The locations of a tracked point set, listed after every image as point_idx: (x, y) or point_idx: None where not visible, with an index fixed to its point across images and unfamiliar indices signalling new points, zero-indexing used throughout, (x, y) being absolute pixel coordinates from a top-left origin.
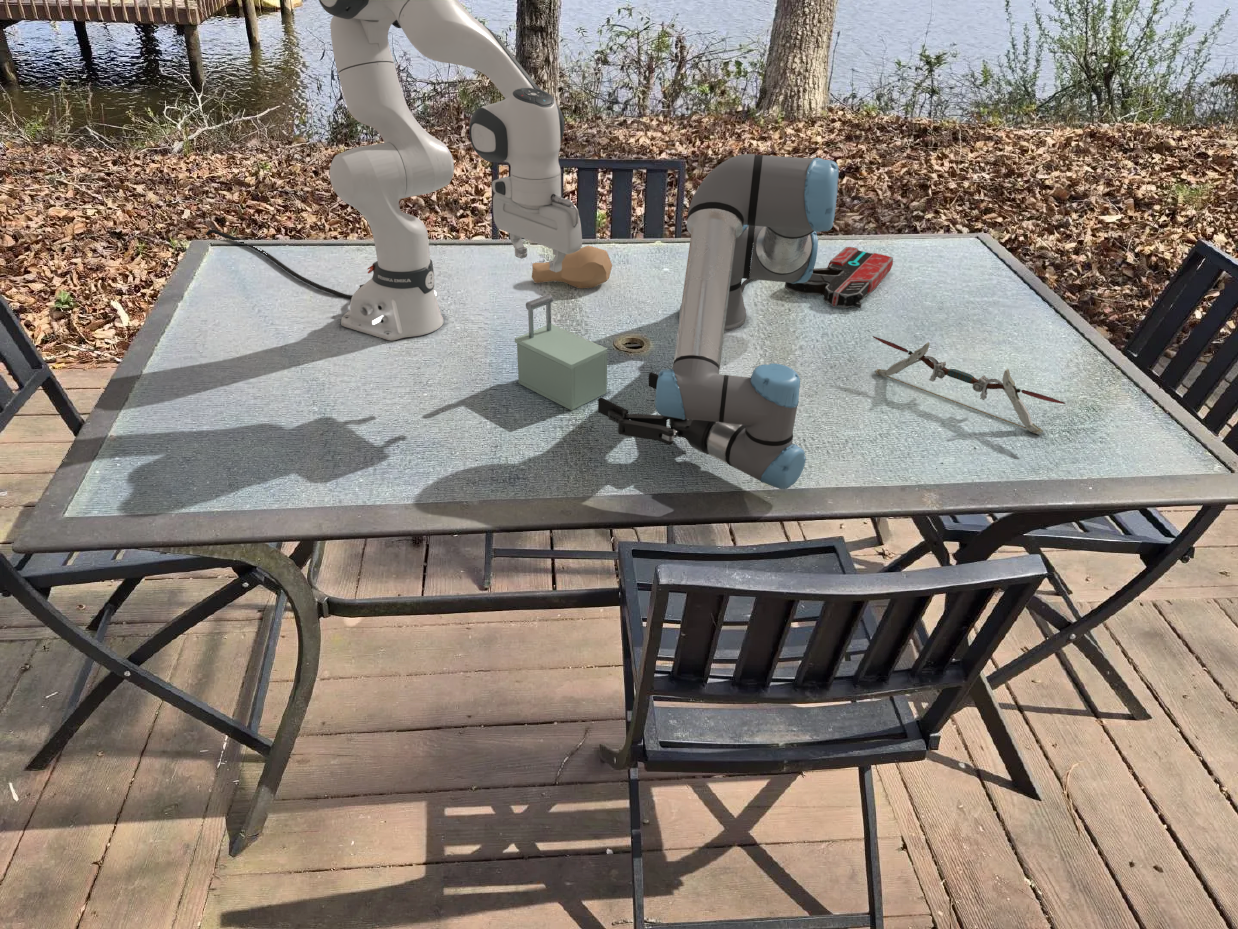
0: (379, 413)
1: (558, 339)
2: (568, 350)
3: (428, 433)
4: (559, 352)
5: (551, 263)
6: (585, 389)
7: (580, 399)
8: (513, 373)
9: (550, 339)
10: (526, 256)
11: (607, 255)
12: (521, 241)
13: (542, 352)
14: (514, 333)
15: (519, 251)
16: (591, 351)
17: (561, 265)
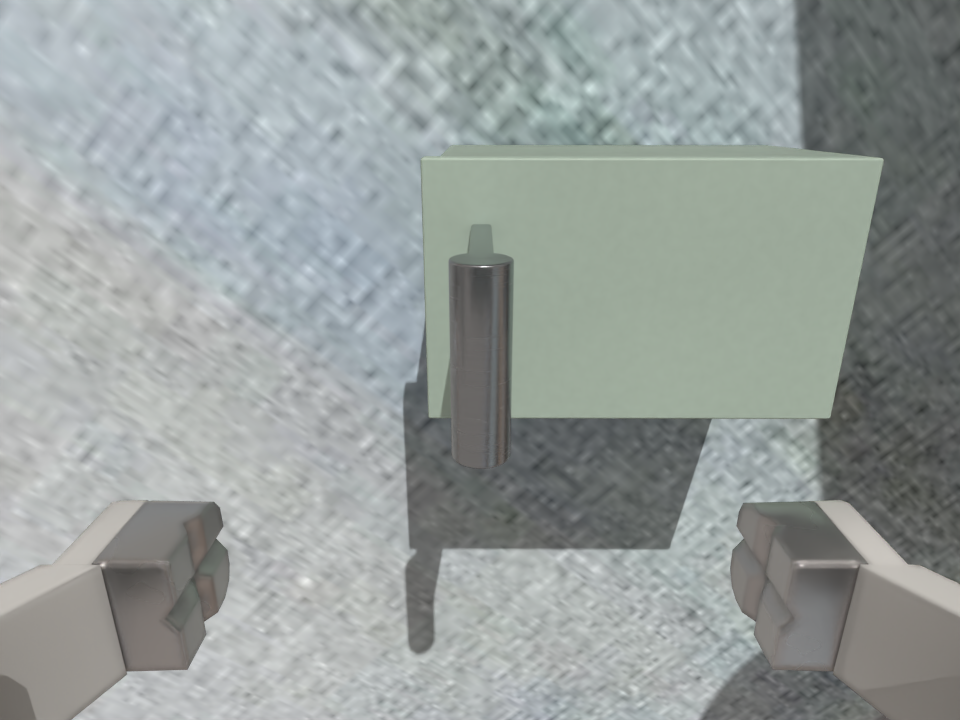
0: (318, 708)
1: (599, 274)
2: (726, 327)
3: (499, 684)
4: (705, 373)
5: (809, 660)
6: None
7: None
8: (375, 298)
9: (568, 304)
10: (215, 503)
11: None
12: (18, 626)
13: (630, 416)
14: (48, 27)
15: (189, 654)
16: (831, 251)
17: (872, 533)
